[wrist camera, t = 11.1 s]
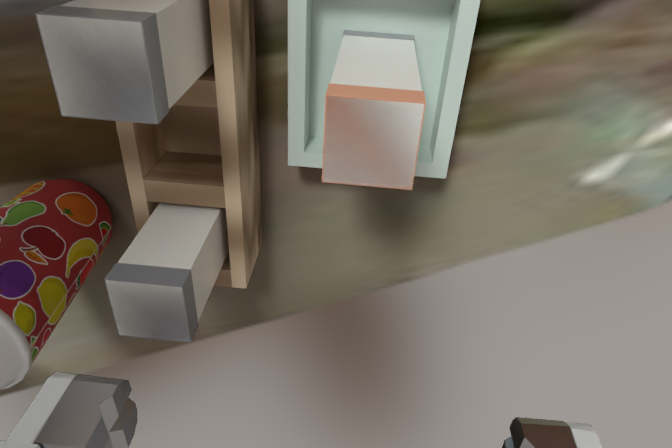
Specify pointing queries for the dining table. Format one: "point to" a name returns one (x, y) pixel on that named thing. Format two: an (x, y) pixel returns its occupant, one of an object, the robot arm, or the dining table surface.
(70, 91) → the block
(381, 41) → the block
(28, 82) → the dining table surface
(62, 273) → the smoothie
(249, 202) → the socket strip
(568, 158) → the dining table surface
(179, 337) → the block
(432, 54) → the tray
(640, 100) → the dining table surface
